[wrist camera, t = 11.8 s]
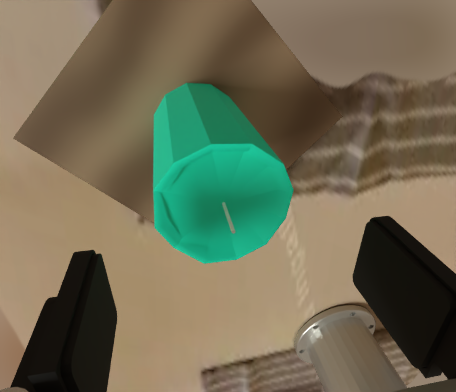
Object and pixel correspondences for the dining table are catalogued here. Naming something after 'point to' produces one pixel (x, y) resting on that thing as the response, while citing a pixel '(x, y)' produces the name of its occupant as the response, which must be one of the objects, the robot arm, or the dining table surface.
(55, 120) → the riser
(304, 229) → the dining table surface
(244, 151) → the candle
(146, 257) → the dining table surface
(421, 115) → the dining table surface
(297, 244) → the dining table surface
